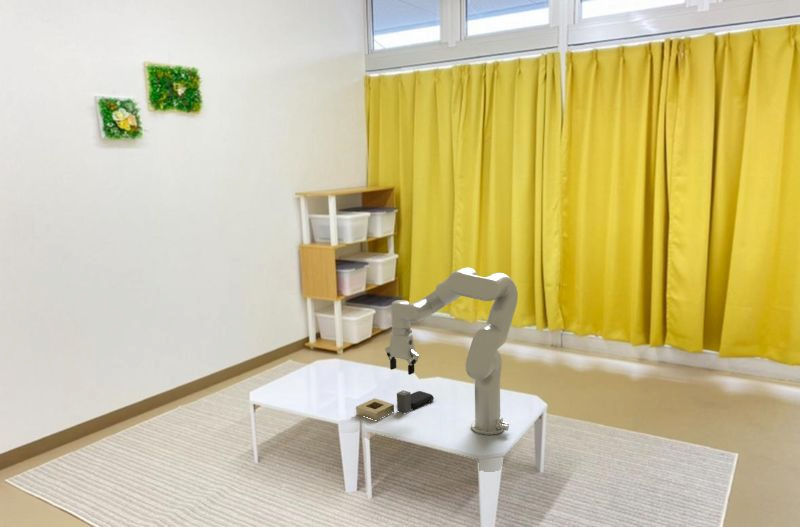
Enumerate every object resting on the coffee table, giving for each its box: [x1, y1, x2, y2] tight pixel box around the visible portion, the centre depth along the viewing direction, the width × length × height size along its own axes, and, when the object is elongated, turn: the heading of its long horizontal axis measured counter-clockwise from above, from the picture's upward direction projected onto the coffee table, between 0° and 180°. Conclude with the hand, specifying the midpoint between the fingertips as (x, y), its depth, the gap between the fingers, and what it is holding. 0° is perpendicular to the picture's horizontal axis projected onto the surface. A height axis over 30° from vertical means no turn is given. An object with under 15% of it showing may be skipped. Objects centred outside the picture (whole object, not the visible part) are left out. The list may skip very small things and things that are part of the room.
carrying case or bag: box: [410, 390, 435, 410], centre depth 238 cm, size 11×3×15 cm
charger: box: [396, 389, 412, 414], centre depth 229 cm, size 4×4×8 cm
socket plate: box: [355, 398, 395, 421], centre depth 228 cm, size 11×11×4 cm
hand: (402, 371), depth 228 cm, fingers open, 9 cm apart
